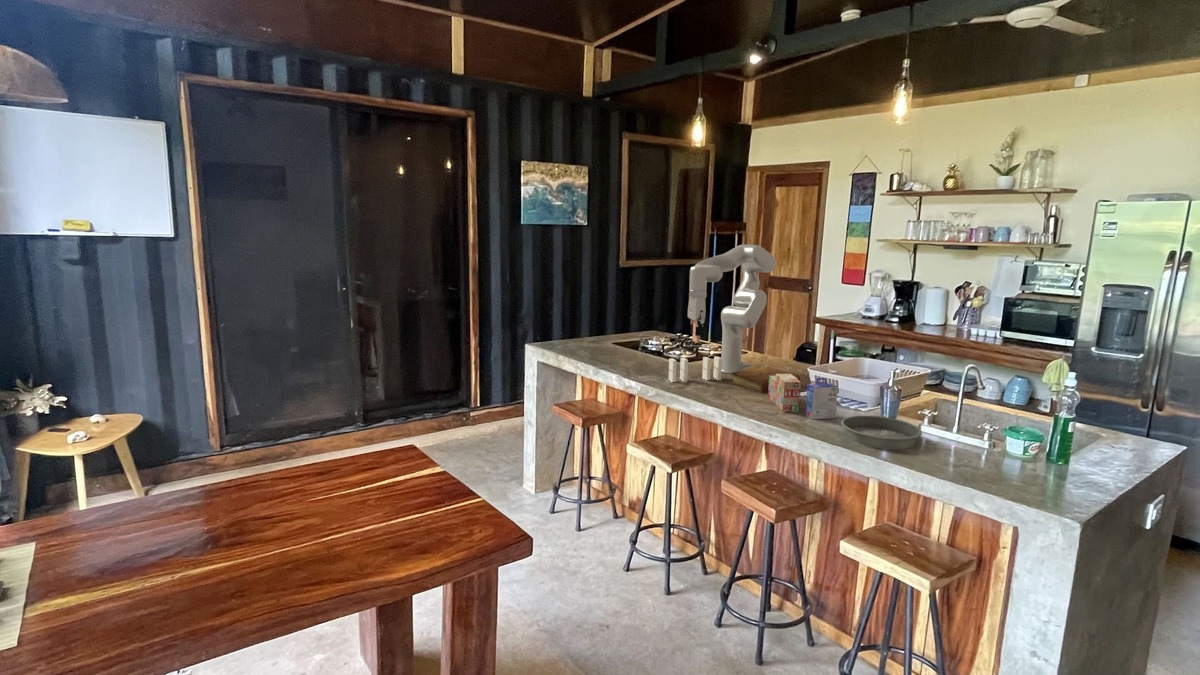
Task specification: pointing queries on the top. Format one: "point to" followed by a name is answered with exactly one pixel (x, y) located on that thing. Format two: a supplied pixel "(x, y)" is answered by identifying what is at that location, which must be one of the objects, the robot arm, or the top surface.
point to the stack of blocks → (785, 391)
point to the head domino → (672, 370)
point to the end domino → (717, 367)
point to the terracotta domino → (694, 337)
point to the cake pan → (899, 440)
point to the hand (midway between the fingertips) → (696, 334)
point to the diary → (757, 378)
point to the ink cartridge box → (821, 400)
